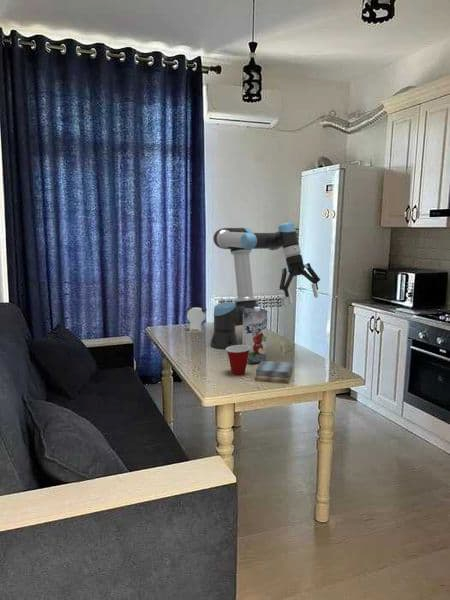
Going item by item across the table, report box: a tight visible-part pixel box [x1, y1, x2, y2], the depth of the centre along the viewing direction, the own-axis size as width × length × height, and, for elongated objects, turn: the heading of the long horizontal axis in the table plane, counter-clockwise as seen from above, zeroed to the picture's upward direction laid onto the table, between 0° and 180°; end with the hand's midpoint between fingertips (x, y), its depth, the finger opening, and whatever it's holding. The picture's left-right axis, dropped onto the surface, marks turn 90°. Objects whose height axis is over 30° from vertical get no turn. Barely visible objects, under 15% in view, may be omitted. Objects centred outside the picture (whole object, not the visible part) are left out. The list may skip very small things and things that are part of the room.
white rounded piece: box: [186, 306, 207, 331], centre depth 286 cm, size 12×11×15 cm
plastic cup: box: [225, 344, 250, 376], centre depth 203 cm, size 11×11×12 cm
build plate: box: [254, 360, 293, 385], centre depth 202 cm, size 14×20×4 cm
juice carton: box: [242, 306, 268, 365], centre depth 221 cm, size 9×10×27 cm
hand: (303, 300), depth 213 cm, fingers open, 13 cm apart
